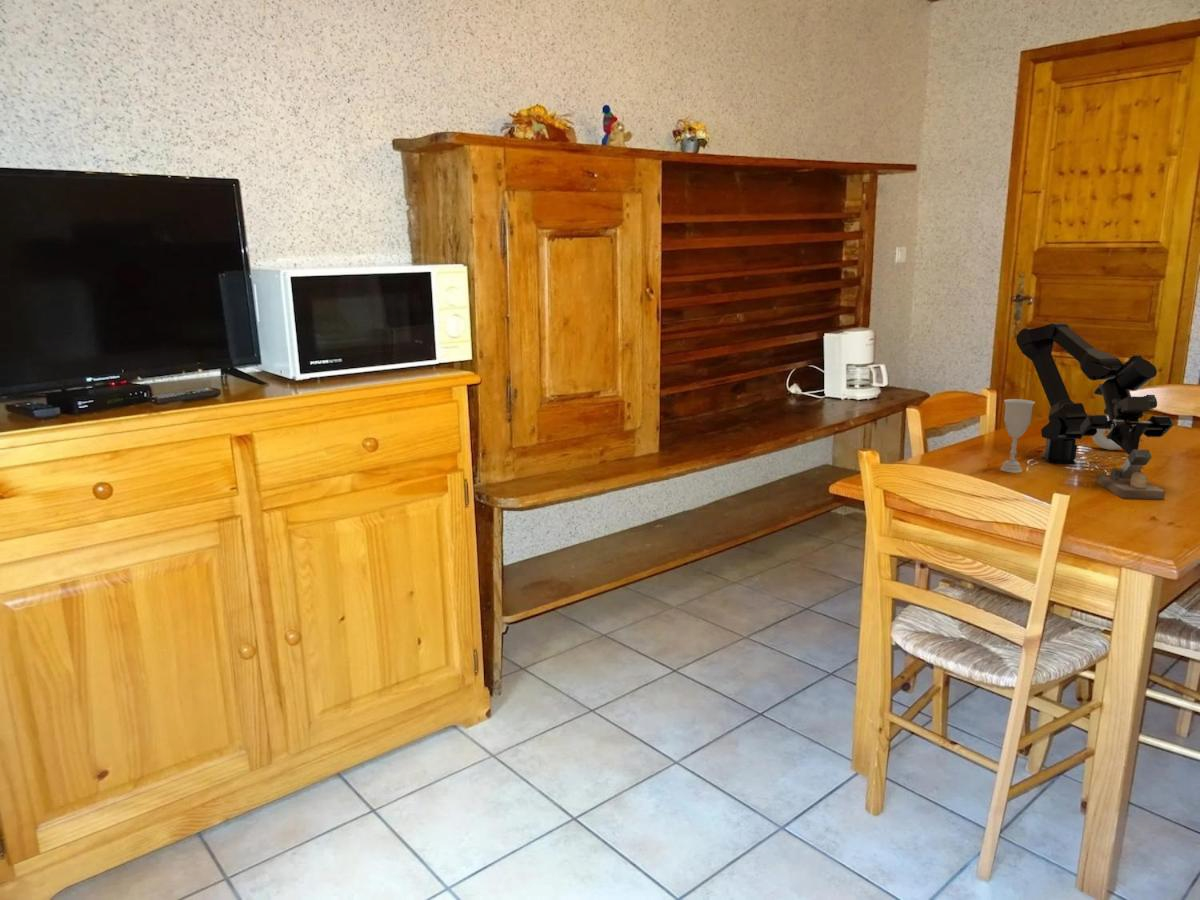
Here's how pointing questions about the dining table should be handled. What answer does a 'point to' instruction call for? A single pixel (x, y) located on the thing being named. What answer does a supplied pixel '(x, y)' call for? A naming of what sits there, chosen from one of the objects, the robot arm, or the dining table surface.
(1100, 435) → the donut
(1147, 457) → the grey blocky upright piece
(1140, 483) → the beige egg
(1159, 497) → the grey base plate stand
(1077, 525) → the dining table surface
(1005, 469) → the chalice
